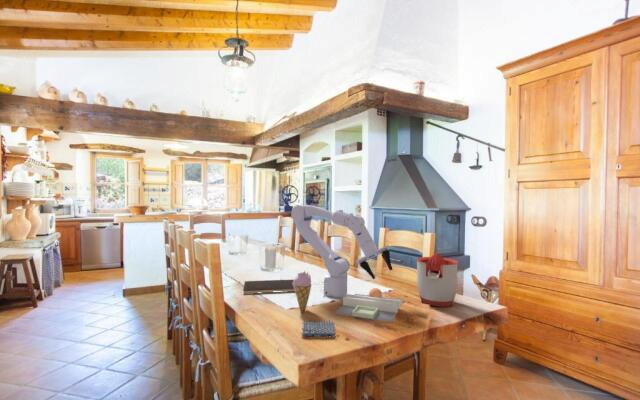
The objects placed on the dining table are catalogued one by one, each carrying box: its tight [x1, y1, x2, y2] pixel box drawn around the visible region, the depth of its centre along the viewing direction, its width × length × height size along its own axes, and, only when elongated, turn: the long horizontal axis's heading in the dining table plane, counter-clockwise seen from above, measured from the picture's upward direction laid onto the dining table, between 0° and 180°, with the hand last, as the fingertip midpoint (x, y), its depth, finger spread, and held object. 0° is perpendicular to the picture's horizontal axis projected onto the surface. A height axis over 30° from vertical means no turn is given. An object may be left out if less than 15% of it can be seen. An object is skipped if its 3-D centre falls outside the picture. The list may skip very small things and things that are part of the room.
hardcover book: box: [242, 279, 295, 295], centre depth 147 cm, size 16×23×2 cm
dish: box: [351, 305, 378, 320], centre depth 112 cm, size 7×7×1 cm
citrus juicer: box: [416, 252, 459, 308], centre depth 128 cm, size 16×17×20 cm
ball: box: [368, 287, 383, 298], centre depth 127 cm, size 5×5×5 cm
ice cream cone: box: [292, 270, 312, 314], centre depth 116 cm, size 7×6×15 cm
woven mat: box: [300, 320, 337, 339], centre depth 99 cm, size 10×11×2 cm
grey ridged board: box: [334, 293, 405, 323], centre depth 120 cm, size 20×26×4 cm
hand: (382, 274), depth 126 cm, fingers open, 7 cm apart
